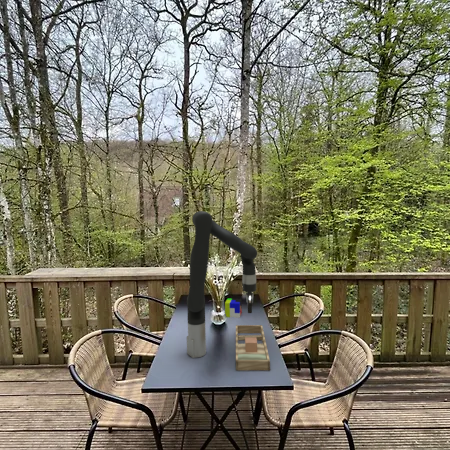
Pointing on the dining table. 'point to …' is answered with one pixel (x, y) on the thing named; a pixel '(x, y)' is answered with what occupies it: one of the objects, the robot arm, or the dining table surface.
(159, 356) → the dining table surface
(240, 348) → the trap lane
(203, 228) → the robot arm
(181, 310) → the dining table surface
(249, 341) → the block
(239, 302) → the puzzle toy
